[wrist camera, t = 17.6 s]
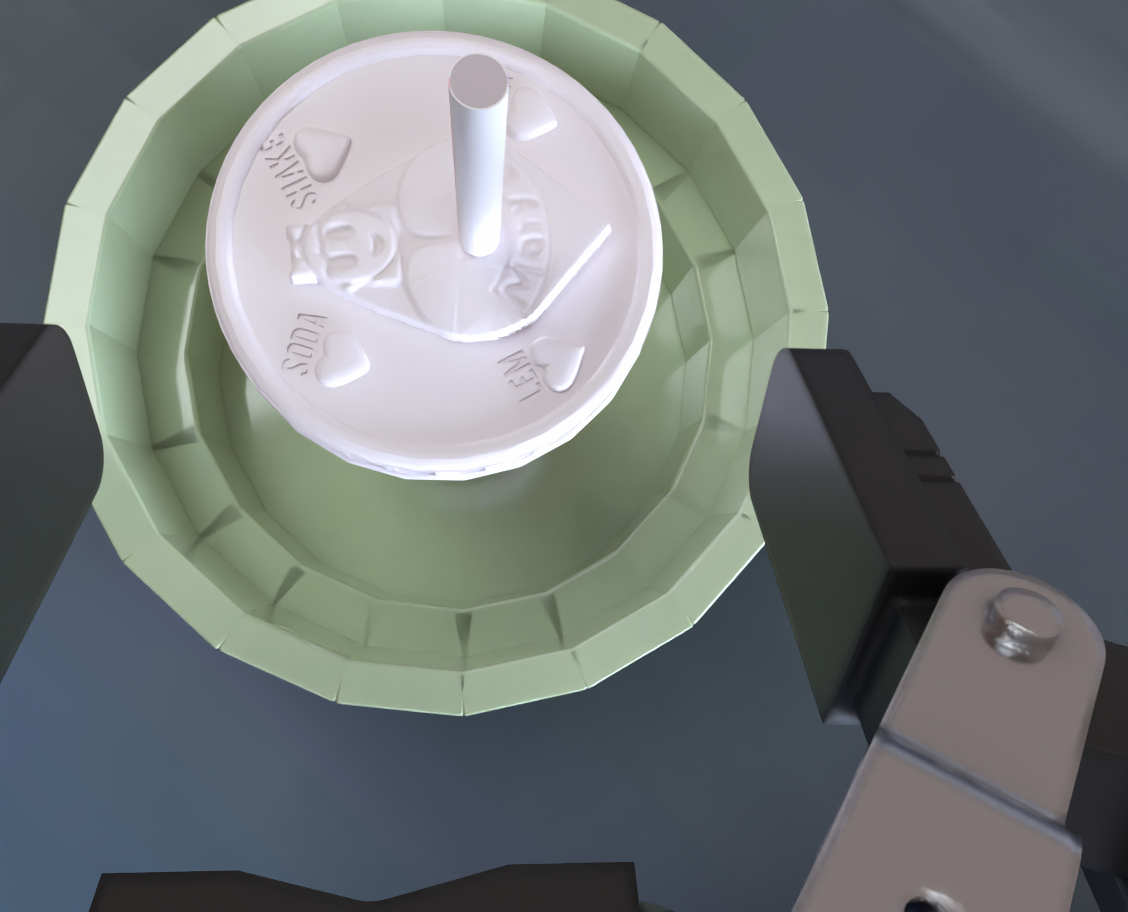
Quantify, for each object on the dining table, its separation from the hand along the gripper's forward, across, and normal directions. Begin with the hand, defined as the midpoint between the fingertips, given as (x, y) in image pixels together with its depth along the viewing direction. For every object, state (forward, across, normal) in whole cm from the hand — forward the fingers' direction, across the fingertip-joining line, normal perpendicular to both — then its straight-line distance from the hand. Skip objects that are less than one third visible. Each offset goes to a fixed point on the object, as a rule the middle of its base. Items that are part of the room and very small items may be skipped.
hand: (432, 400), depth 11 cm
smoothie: (+10, 0, +6) cm, 12 cm away
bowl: (+10, 0, +6) cm, 12 cm away
